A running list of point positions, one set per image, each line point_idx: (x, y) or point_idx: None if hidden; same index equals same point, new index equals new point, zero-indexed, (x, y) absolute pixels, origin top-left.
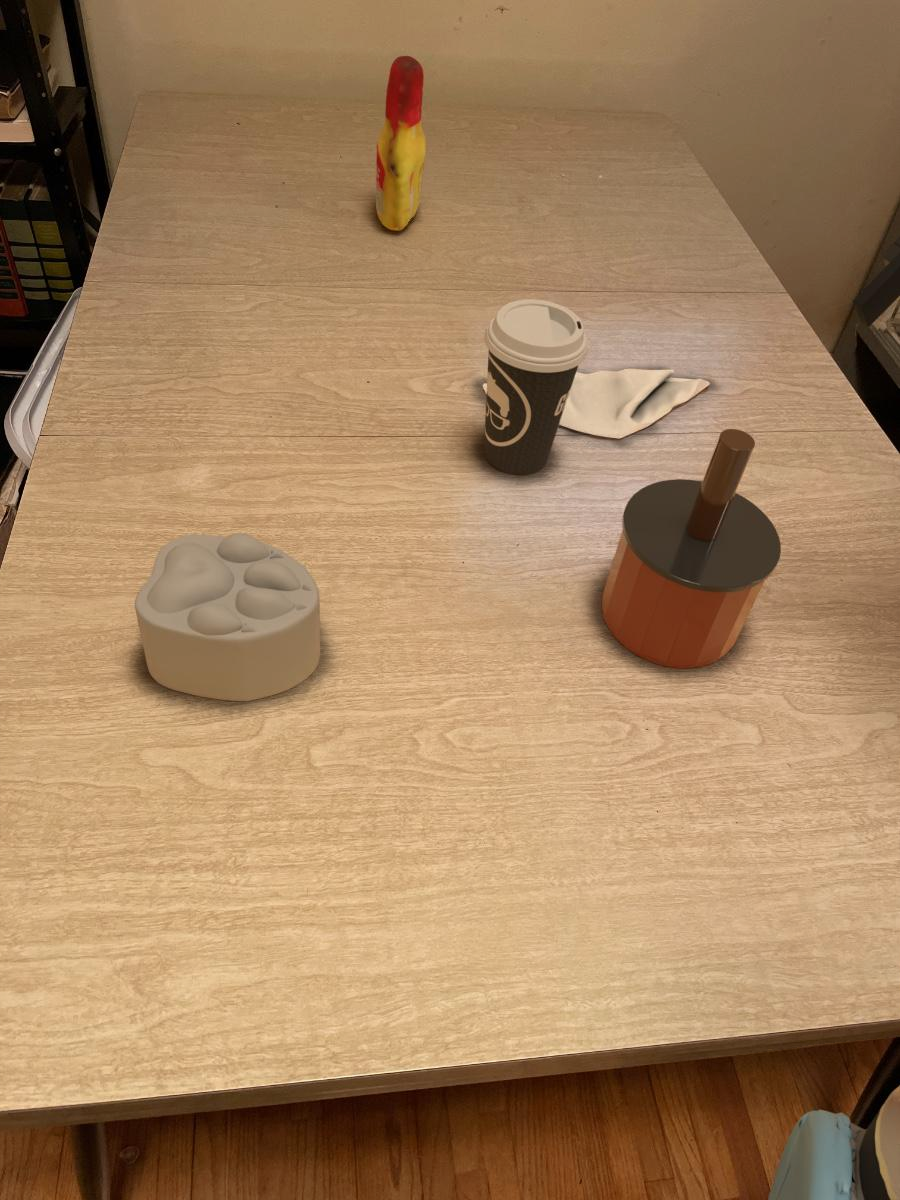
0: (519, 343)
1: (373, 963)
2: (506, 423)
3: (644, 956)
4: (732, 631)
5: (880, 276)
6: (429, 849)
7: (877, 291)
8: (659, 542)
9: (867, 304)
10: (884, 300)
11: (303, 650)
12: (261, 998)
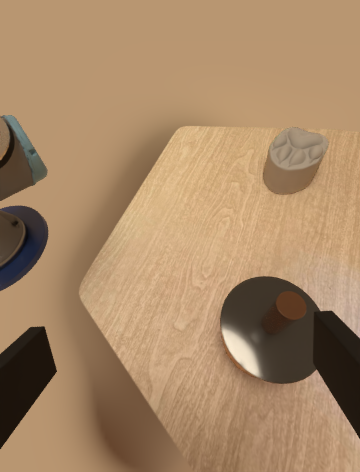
0: None
1: (169, 179)
2: None
3: (133, 235)
4: (222, 337)
5: (357, 343)
6: (191, 199)
7: (329, 332)
8: (267, 291)
9: (318, 324)
10: (332, 370)
11: (270, 175)
12: (175, 159)
